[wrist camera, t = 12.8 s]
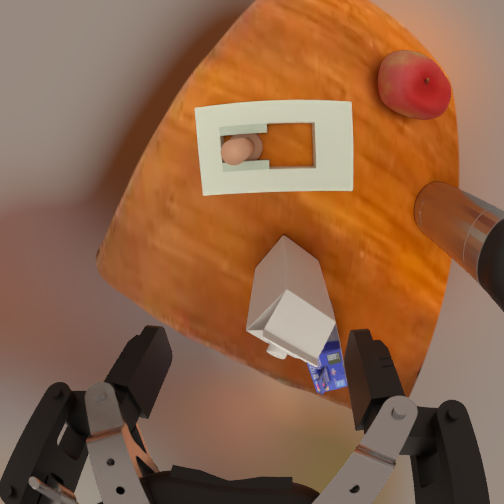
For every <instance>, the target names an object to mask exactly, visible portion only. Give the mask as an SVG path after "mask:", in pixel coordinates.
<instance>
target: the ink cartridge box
mask: <svg viewBox="0 0 504 504" xmlns="http://www.w3.org/2000/svg"><path fill="white" fill-rule="evenodd" d="M330 302H331V300H330ZM331 306H332V303H331ZM332 310H333V307H332ZM333 314H334V312H333ZM334 318H335V316H334ZM335 321H336V320H335ZM317 361H318V367H315V366H313V365H311V364H309V363H307V362H306V363H307V365H308V368H309V371H310V374H311V377H312V380H313V383H314V386H315V388H316V391H317V393H319V392H321V394H323V393H324V392H325V391H330V390H335V389H338V388H342V387H346V386H348V385H347V378H346V373H345V367H344V361H343V355H342V350H341V344H340V339H339V334H338V329H337V325H336V323H335V326H334V328H333V330H332V332H331V334H330V336H329V338H328V340H327V342H326V344H325V346H324V347H323V349H322V351H321V353H320V355H319V357H318V359H317Z"/></svg>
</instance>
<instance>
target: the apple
mask: <svg viewBox="0 0 504 504" xmlns="http://www.w3.org/2000/svg"><path fill="white" fill-rule="evenodd" d="M378 91H379V95H380V98H381V100H382V102H383V103H384V104H385V105H386V106H387V107H388V108H390V109H391V110H393V111H395V112H397V113H399V114H401V115H404V116H407V117H411V118H415V119H421V120H428V119H434V118H437V117H439V116H441V115H442V114H443V113H444V112H445V111H446V109H447V107H448V105H449V102H450V97H451V87H450V84H449V82H448V80H447V78H446V77H445V75H444V73H443V72H442V70H441V69H440V68H439V66H438V65H437V64H436V63H435V62H434V61H433V60H431V59H430V58H428V57H426V56H425V55H423V54H421V53H418V52H415V51H408V50H401V51H396V52H393V53H391V54H389V55H387V56H386V57H385V58H384V60H383V61H382V63H381V66H380V69H379V74H378Z"/></svg>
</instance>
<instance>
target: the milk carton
mask: <svg viewBox="0 0 504 504" xmlns="http://www.w3.org/2000/svg"><path fill="white" fill-rule="evenodd" d="M335 323H336V321H335V318H334V314H333V310H332V306H331V302H330V299H329V295H328V292H327V288H326V284H325V281H324V277H323V274H322V271H321V267H320V264H319V261H318V260H317V259H316V258H314V257H313V256H312V255H311V254H309V253H308V252H307V251H305V250H304V249H302V248H301V247H300V246H298V245H297V244H296V243H294V242H293V241H292V240H290V239H289V238H288V237H286V236H285V235H283V236H282V237H281V238H280V239H279V241H278V242H277V243H276V244H275V245H274V247H273V248H272V249H271V250H270V251H269V252H268V254H267V255H266V256H265V257H264V258H263V260H262V261H261V262H260V263H259V264H258V265H257V267H256V268H255V274H254V280H253V287H252V294H251V300H250V307H249V313H248V320H247V326H246V331H248V332H249V333H251V334H253V335H254V336H256V337H258V338H260V339H261V340H263V341H265V342H267V343H268V344H270V345H269V347H268V349H267V352H268V353H269V354H271V355H273V356H275V357H277V358H280V359H285V358H286V356H287V354H288V355H290V356H292V357H294V358H299V359H301V360H303V361H305V362H307V363H309V364H311V365H313V366H315V367H318V361H317V359H318V357H319V355H320V353H321V351H322V349H323V347H324V346H325V344H326V342H327V340H328V338H329V336H330V334H331V332H332V330H333V328H334V326H335Z"/></svg>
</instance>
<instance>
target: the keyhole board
mask: <svg viewBox="0 0 504 504" xmlns="http://www.w3.org/2000/svg"><path fill="white" fill-rule="evenodd" d="M195 118H196V130H197V141H198V151H199V161H200V171H201V180H202V189H203V196H206V195H220V194H236V193H256V192H283V191H353V122H352V103H351V102H348V101H330V100H272V101H254V102H241V103H230V104H221V105H213V106H205V107H199V108H195ZM286 123H312V142H313V166H275V167H269V160H250V161H243V162H242V163H241V164H239V165H229V164H227V163H226V162H224V160H223V159H222V157H221V148H222V146H223V144H224V136H226V135H237V134H251V133H267V124H286Z"/></svg>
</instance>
